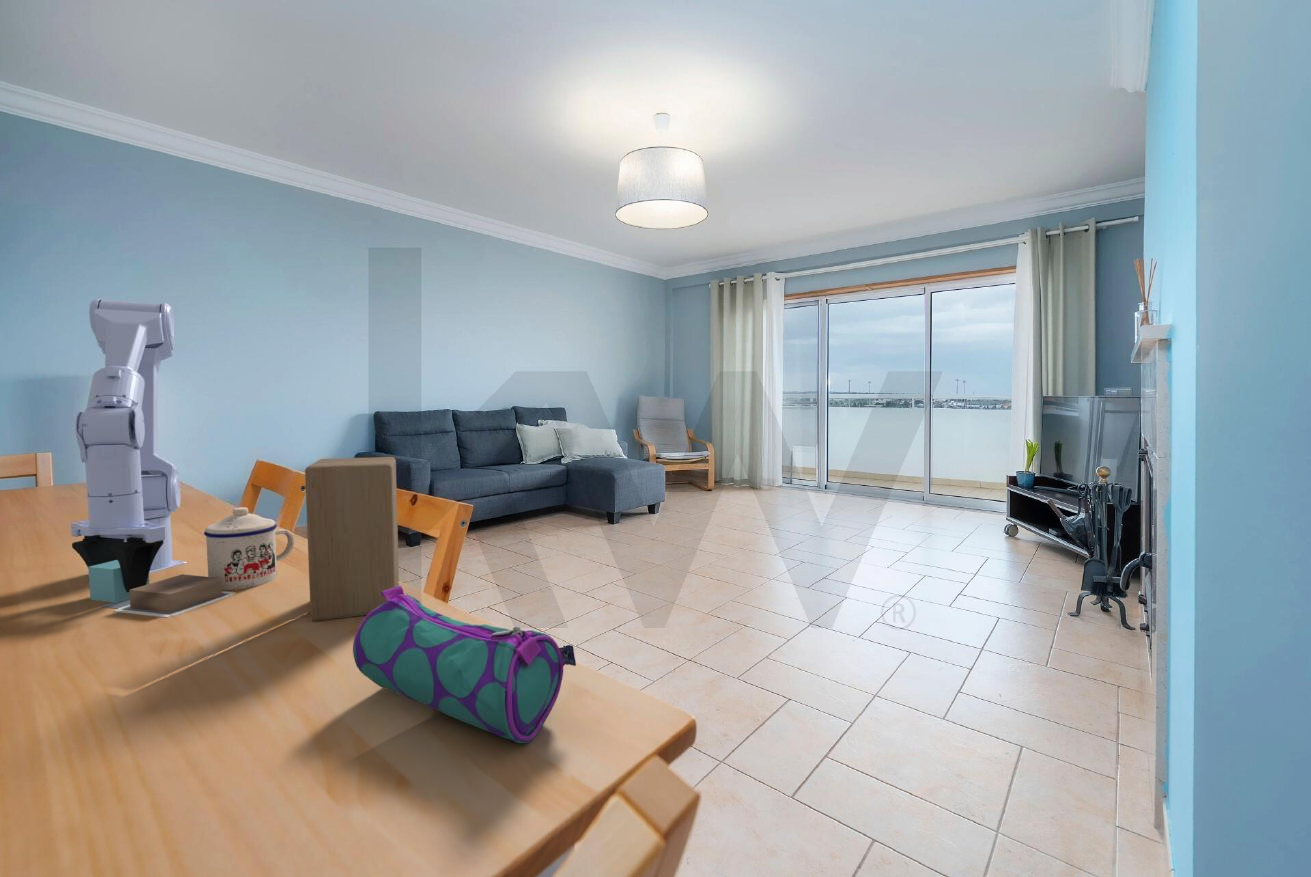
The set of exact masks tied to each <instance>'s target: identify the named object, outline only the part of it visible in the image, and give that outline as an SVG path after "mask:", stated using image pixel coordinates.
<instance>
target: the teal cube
mask: <svg viewBox="0 0 1311 877" xmlns="http://www.w3.org/2000/svg"><path fill="white" fill-rule="evenodd" d="M87 569H88V570H87V571H88V581H89V582H88V584H89V596H90V597H89V599H90V600H92V601H100V602H108V603H114V602H117V601H120V600H123V599H127V598H130V593H129V592H126V590H125V587H124V583H123V577H122V571H121V568H120V565H119V562H118V560H114V561H110V562H106V563H102V564H98V565H94V566H90V567H87ZM148 584H150V575H149V576H148V580H147V584H146V585H148Z"/></svg>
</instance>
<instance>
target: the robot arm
mask: <svg viewBox="0 0 1311 877" xmlns="http://www.w3.org/2000/svg"><path fill="white" fill-rule="evenodd" d="M88 313H89V324H90V328H91V331H92V332H93V334H94V336H95V340H96V341H97V345H98V347H99V348H100V349H101V352H102V354H103V355H105V358H104V360H105V361H104V367H103V368H100V369H97V371H95V372H94V373H93V375H92V379H91V382H90V383H91V385H90V390H89V394H88V400H87V402H86V403H87V404H86V409H85V410H84V411H83V412H82V411H78V412H77V414H76V418H75V422H74V423H75V428H74V430H75V436H76V441H77V445H78V447H79V454H80V456H79V457H80V461H81V463H84V467H85V468H84V469H85V486H86V499H87V500H86V501H87V509H88V510H87V511H88V512H87V513H88V520H80V521H76V522H70V532H71V537H82V536H84V537H83V538H82V540H79V541H73V542H72V543H71V548H72V549H73V550H74V551H75V552H76V553H77V554H78V555H79V556H80V558H81V559H82V561H84V564H85V565H86V567H87V568H88V567H90V566H94V565H98V564H102V563H106V562H110V561H114V560H118V562H119V565H120V568H121V571H122V577H123V583H124V587H125V590H126V592H129V590H131V589H134V588H137V587H141V586H144V585H146V584H147V580H148V576H149V577H150V575H151V574H153V573H158V572H160V571H164V570H167V569H171V568H176V567H179V566H181V565H182V566H183V565H185V564H188V562H187V561H186V560H185V561H184V560H175V559H173V557H174V556H173V543H172V542H173V541H172V527H171V526H172V524H171V515H172V513H173V512H174V513H175V512H176V511H177V510H178V509H179V508H180V506H181V499H182V498H181V495H182V494H181V492H182V490H181V482H180V478H179V477H180V476H179V469H178V468H177V466H176V465H175V464H174V463H172V462H171V461H169V460H167V459H165V458H163V457H161V456H159V455H158V377H159V376H158V375H159V371H160V366H161V362H162V361H163V360H166V359H168V358H171V357H173V354H174V350H175V328H176V327H175V317H174V310H173V308H172V306H171V305H169V304H168V302H161V303H159V302H143V301H142V302H141V301H140V302H139V301H129V300H128V301H127V300H115V299H114V300H112V299H102V298H99V297H98V298H97V297H96V298H94V300H93V301H91V303H90V304H89V312H88Z"/></svg>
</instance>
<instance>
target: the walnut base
mask: <svg viewBox="0 0 1311 877" xmlns="http://www.w3.org/2000/svg"><path fill="white" fill-rule="evenodd" d="M222 591H223V590H222V586H221V578H215V577H208V576H205V575H204V576H203V575H195V574H194V575H193V574H184V573H183V574H179V575H176V576H171V577H169V578H164V579H162V580H159V581H155V582H151V583H149V584H148V585H144V586H141V587H137V588H134V589H131V590H129V593H130V608H133V609H142V610H151V611H159V612H168V613H173V612H176V611H179V610H181V609H184V608H187V607H190V606H193V605H196V604H198V603H201V602H204V601H207V600H210V599H213V598H216V597H218V596H221V595H222Z"/></svg>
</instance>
